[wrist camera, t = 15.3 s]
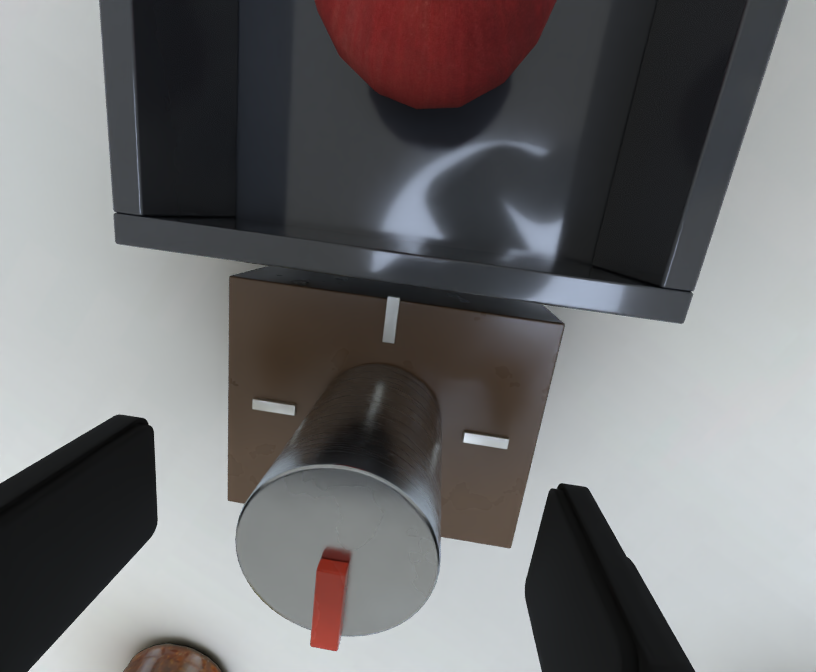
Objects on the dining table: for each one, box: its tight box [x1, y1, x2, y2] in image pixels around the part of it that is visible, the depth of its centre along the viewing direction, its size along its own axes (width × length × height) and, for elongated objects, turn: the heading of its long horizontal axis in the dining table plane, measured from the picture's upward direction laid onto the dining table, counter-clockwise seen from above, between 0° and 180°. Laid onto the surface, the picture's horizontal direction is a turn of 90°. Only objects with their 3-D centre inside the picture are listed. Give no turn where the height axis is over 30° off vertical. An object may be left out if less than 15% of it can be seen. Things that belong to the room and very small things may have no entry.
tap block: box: [228, 266, 565, 548], centre depth 15 cm, size 8×10×5 cm
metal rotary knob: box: [235, 364, 442, 651], centre depth 10 cm, size 4×4×6 cm
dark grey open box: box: [99, 0, 788, 324], centre depth 11 cm, size 15×15×6 cm
